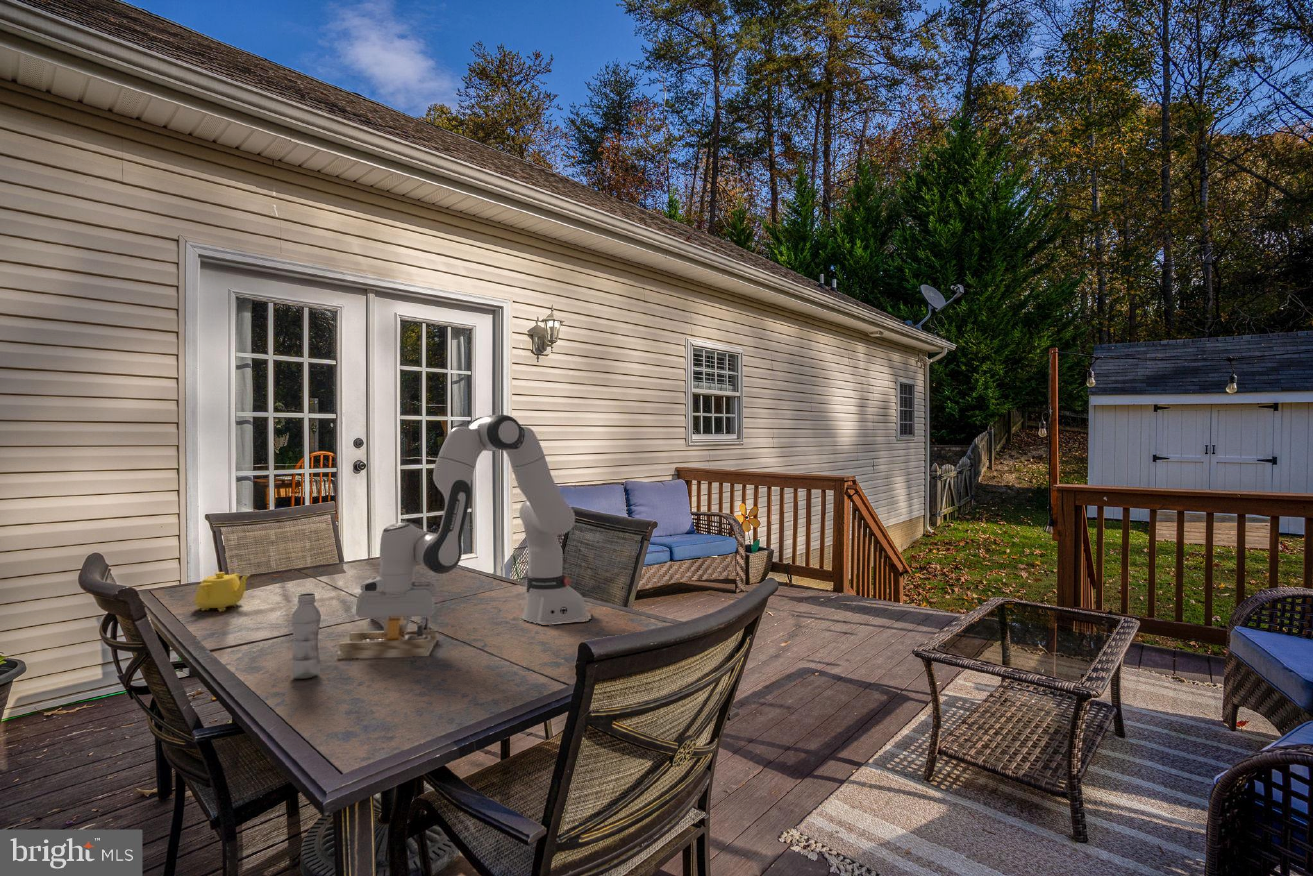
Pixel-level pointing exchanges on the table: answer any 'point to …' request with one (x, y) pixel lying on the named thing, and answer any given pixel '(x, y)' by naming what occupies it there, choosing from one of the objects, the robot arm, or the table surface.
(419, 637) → the chain end link
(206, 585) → the teapot
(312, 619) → the plastic bottle
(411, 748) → the table surface
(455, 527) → the robot arm
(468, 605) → the table surface
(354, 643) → the guide board
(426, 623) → the keeper hook
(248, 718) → the table surface
